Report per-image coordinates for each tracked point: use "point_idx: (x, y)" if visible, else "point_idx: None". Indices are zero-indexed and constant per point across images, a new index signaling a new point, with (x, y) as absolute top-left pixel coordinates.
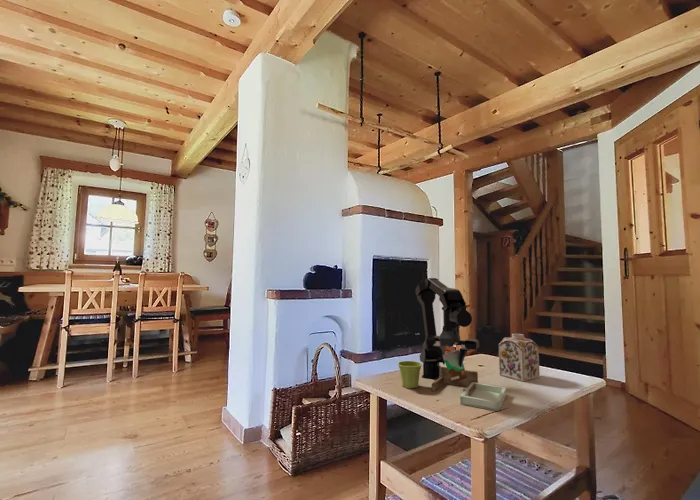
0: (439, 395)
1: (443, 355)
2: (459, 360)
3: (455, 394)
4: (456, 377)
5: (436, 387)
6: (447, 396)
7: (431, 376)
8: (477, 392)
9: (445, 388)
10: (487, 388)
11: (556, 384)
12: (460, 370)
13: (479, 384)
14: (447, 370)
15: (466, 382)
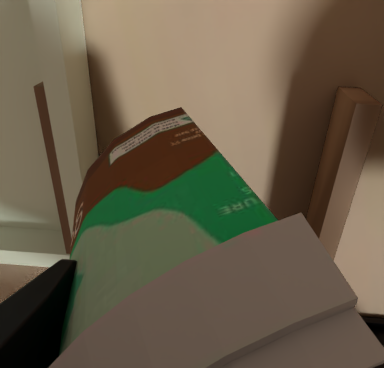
0: (284, 3)
1: (351, 346)
2: (61, 351)
3: (172, 96)
4: (133, 144)
5: (328, 147)
6: (216, 13)
7: (379, 332)
8: (44, 174)
9: (264, 189)
10: (1, 236)
11: None
12: (82, 224)
13: (41, 251)
14: None
15: None
